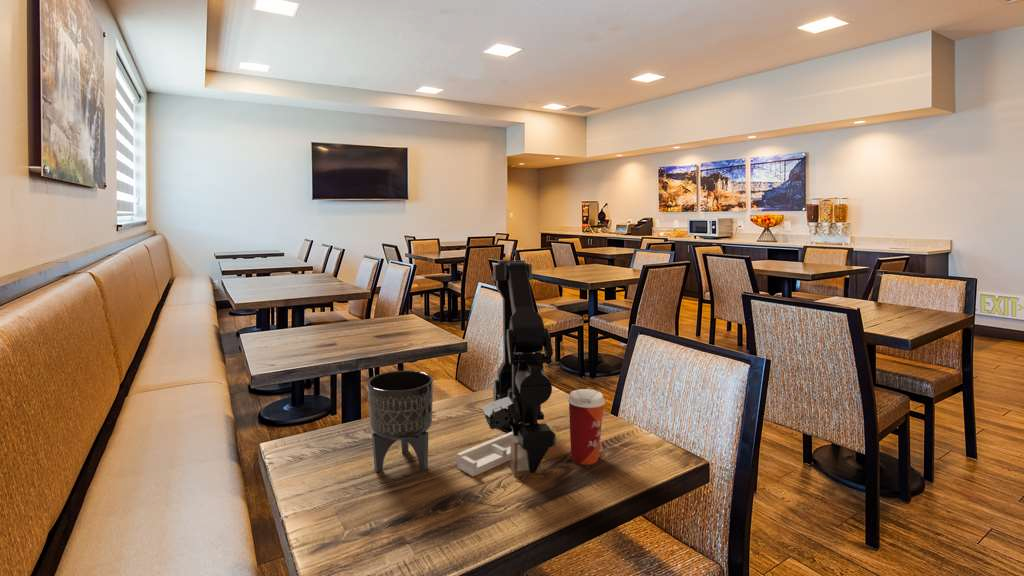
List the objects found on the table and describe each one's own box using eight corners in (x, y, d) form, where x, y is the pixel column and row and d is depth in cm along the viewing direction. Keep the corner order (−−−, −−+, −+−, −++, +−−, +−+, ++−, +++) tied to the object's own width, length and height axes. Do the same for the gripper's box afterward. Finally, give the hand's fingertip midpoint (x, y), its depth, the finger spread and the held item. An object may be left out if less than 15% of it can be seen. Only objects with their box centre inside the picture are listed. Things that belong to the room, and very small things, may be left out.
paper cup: (602, 469, 108) (604, 402, 106) (564, 465, 110) (565, 399, 108) (603, 451, 116) (606, 389, 114) (568, 448, 118) (569, 386, 115)
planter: (446, 456, 113) (445, 375, 111) (410, 485, 102) (407, 395, 99) (396, 444, 119) (394, 367, 116) (356, 470, 107) (352, 385, 104)
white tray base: (457, 467, 109) (456, 453, 108) (517, 442, 120) (517, 429, 120) (473, 476, 105) (473, 462, 105) (533, 449, 117) (533, 436, 116)
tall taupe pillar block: (514, 476, 105) (514, 443, 104) (510, 469, 108) (510, 436, 107) (541, 473, 107) (541, 440, 106) (536, 466, 110) (537, 433, 108)
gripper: (476, 374, 112) (477, 445, 114) (496, 407, 94) (496, 490, 96) (528, 370, 114) (527, 440, 117) (557, 402, 97) (555, 483, 99)
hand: (525, 461), depth 107 cm, fingers open, 9 cm apart
